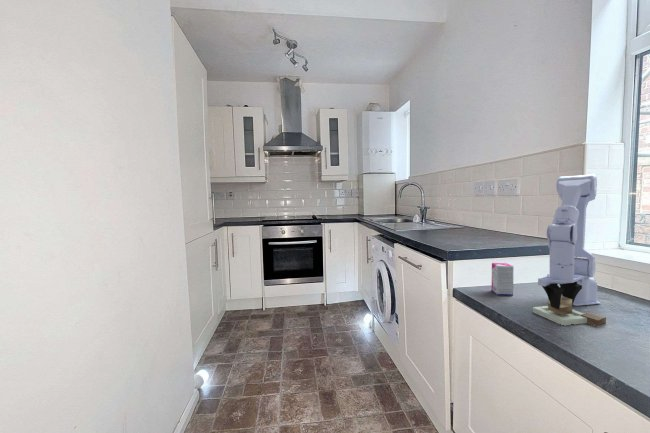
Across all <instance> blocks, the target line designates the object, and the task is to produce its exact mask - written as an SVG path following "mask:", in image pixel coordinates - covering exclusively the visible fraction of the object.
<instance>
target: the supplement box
mask: <svg viewBox="0 0 650 433" xmlns="http://www.w3.org/2000/svg"><path fill="white" fill-rule="evenodd" d="M491 292H492V293H494V294H495V295H496V296H508V297H509V296H510V297H511V296H512V297H513V296H514V266H513V265H512V264H509V263H507V262H492V263H491Z"/></svg>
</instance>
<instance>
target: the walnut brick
mask: <svg viewBox="0 0 650 433" xmlns="http://www.w3.org/2000/svg"><path fill="white" fill-rule="evenodd" d="M581 316H583V317H586V318H587V323H586V324H588V325H591V326H594V325H595V327H597V326H599V327H601V325H602V326H605V325H606V324H607V317H606V316H603V315H601V314H597V313H593V312H590V311H587V312H583V314H581Z"/></svg>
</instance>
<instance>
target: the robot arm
mask: <svg viewBox="0 0 650 433" xmlns="http://www.w3.org/2000/svg"><path fill="white" fill-rule="evenodd" d="M555 186H556V192H557V194H558V196H559V198H560V201H561V205H560V206H558V207H557V208H556V209H555V212H554V215H553V220H552V223H551V225H548V226H547V228H546V239H547V247H548V249H549V273H547V274H546V276H543V277H540V278H538V279H537V285H538V286H541V287H542V288H543V290H544V291H545V294H546V295H547V299H548V298H549V301H550V305H551V307H554V308H556V309H559V307H560V300H561V296H564V297H567V298H570V299H572V306H576V307H579V306H588V305H589V306H590V305H600V304H601V302H600V301H599V300H598V283H597V281H596V279H595V278H593V277H594V276H595V274H596V260H595V259H596V258H595V256H594V254H593V253H591V252H590V251H589V250H587V249H585V240H586V239H585V236H586V222H587V221H586V220H587V207H588V204H589V203H590V202H591V201H594V200H595V199H596V197H597V189H598V188H597V186H598V179H597V175H596V174H594V173H591V174H583V175H569V176H568V175H567V176H562V175H561V176H559V177H558V178H557V179H556V184H555Z"/></svg>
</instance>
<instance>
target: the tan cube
mask: <svg viewBox="0 0 650 433" xmlns="http://www.w3.org/2000/svg"><path fill="white" fill-rule="evenodd" d="M547 306H548V310H550V311H552V312H555V313H557V314H560V315H564V314H572V309H573V305H572V299H570V298H567V297H564V296H561V300H560V307H559V309H556V308H554V307H551V305H550V301H549V298H548V297H547Z"/></svg>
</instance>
